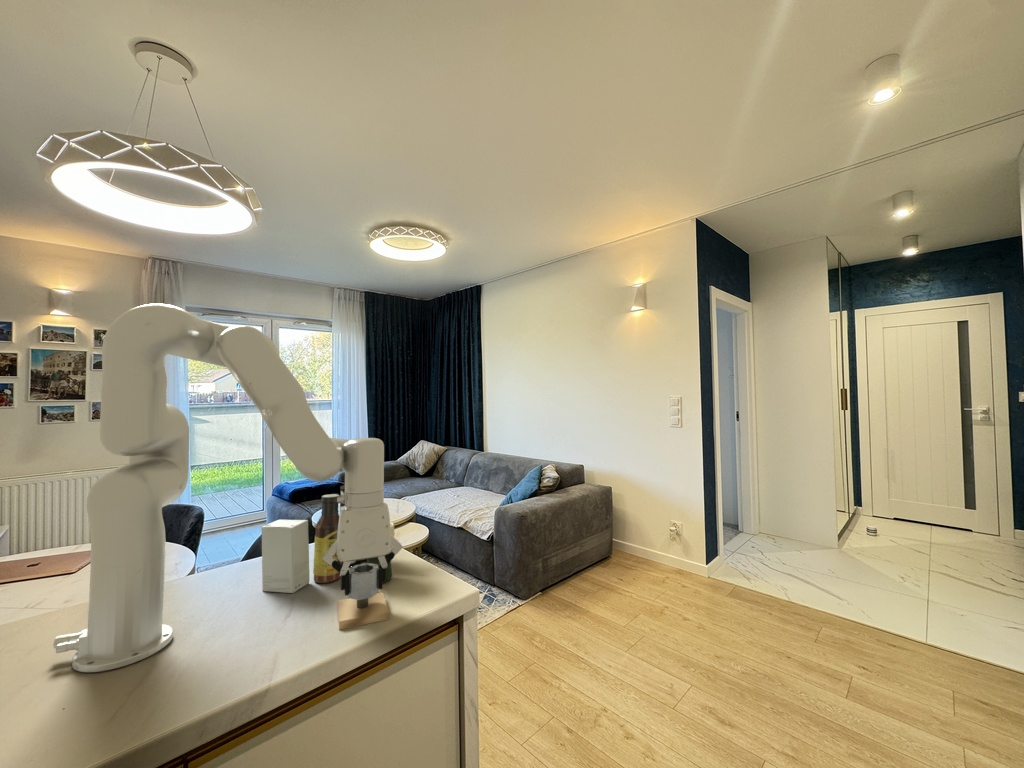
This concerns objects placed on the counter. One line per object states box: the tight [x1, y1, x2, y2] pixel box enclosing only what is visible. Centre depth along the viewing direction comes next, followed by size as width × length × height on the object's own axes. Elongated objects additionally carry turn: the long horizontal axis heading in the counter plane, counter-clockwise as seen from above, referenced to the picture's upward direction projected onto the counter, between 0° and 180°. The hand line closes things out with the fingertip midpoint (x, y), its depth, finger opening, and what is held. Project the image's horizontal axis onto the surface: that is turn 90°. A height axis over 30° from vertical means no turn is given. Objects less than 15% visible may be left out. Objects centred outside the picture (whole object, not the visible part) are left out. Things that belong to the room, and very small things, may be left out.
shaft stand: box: [336, 592, 390, 631], centre depth 83 cm, size 9×9×7 cm
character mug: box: [367, 521, 395, 581], centre depth 99 cm, size 11×7×13 cm, turn 51°
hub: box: [347, 563, 380, 600], centre depth 84 cm, size 6×6×5 cm
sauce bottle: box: [313, 493, 342, 584], centre depth 100 cm, size 6×6×20 cm
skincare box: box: [261, 519, 310, 594], centre depth 95 cm, size 8×6×15 cm
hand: (363, 588), depth 83 cm, fingers closed on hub, 5 cm apart
